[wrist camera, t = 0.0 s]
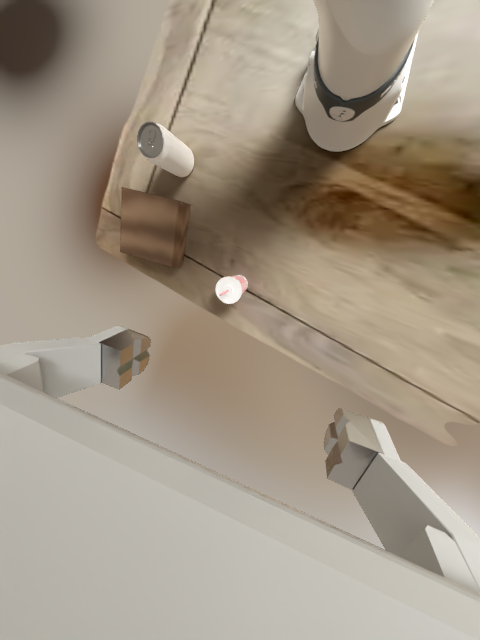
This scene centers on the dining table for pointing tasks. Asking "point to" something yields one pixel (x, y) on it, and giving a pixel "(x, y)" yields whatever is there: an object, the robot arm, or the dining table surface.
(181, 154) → the can
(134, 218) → the riser block
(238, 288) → the beverage cup
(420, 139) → the dining table surface
